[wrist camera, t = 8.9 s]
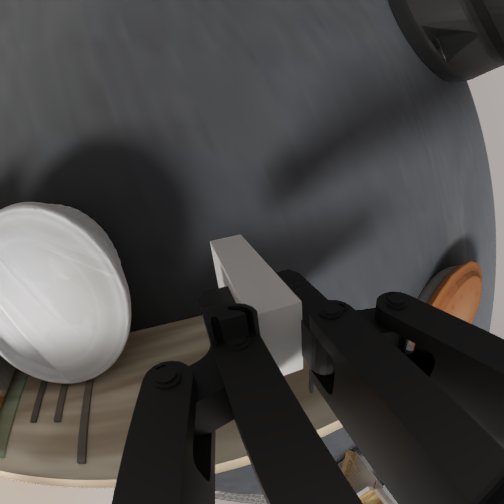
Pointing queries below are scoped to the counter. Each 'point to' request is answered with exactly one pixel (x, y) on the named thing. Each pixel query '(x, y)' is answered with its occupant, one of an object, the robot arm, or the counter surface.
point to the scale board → (114, 413)
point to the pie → (455, 291)
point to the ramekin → (60, 294)
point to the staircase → (354, 472)
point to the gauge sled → (5, 377)
